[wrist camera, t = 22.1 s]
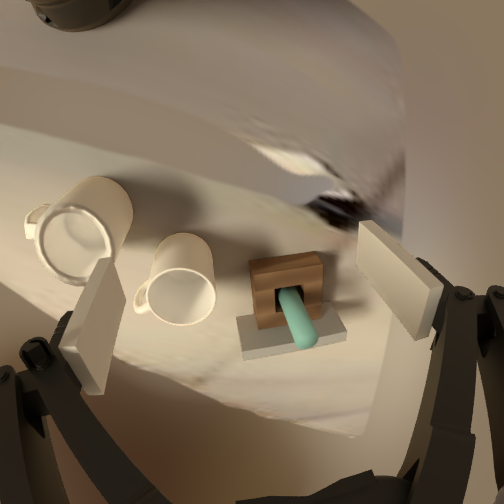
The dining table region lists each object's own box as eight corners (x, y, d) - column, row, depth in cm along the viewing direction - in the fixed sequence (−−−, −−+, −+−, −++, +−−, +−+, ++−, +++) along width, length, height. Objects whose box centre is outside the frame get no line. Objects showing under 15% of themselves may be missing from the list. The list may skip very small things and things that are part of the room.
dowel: (273, 277, 49) (295, 333, 38) (292, 275, 50) (319, 329, 38) (274, 293, 51) (295, 351, 39) (292, 291, 51) (317, 346, 40)
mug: (48, 240, 41) (18, 278, 31) (44, 173, 36) (7, 198, 27) (132, 248, 44) (117, 290, 34) (135, 178, 39) (116, 205, 30)
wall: (236, 317, 52) (242, 351, 45) (329, 300, 53) (347, 331, 46) (237, 326, 53) (243, 360, 46) (329, 310, 54) (345, 340, 47)
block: (248, 260, 47) (253, 275, 44) (314, 251, 48) (323, 264, 45) (254, 313, 52) (258, 329, 49) (313, 303, 53) (320, 318, 50)
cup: (222, 266, 47) (229, 308, 38) (155, 300, 48) (149, 345, 39) (193, 220, 43) (192, 255, 34) (123, 260, 44) (108, 301, 35)
